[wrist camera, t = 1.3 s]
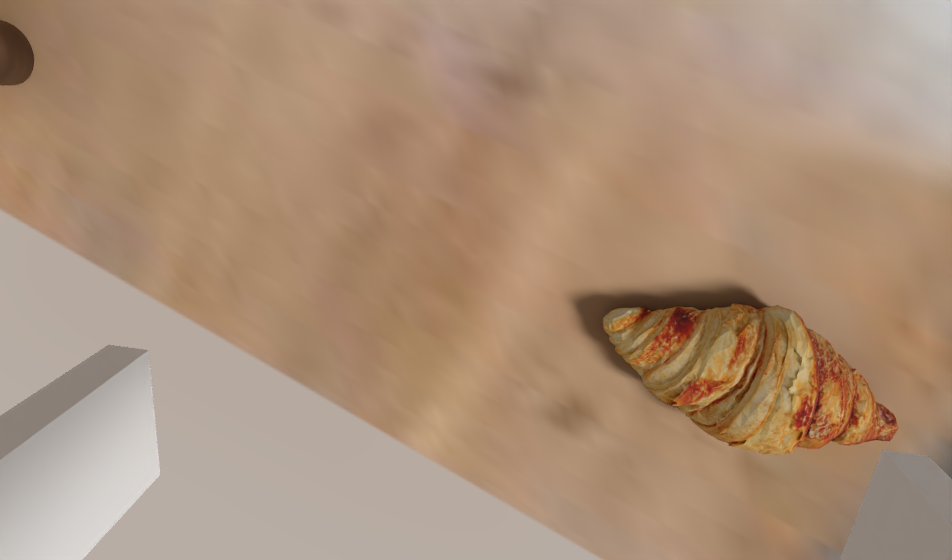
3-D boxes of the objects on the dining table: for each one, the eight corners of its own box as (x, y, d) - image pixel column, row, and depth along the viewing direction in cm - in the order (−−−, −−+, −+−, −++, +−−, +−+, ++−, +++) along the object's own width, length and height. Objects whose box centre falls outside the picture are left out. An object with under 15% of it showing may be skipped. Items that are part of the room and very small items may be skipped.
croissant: (581, 326, 47) (567, 413, 42) (638, 237, 40) (629, 327, 35) (836, 418, 48) (855, 515, 42) (938, 345, 40) (978, 452, 35)
